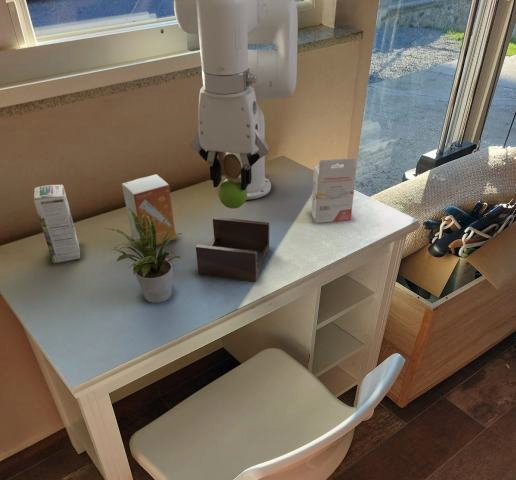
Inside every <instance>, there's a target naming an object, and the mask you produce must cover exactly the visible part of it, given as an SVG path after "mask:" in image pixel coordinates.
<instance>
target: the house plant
mask: <svg viewBox="0 0 516 480" xmlns="http://www.w3.org/2000/svg"><path fill="white" fill-rule="evenodd" d="M129 211H130V213H131V215H132V217H133V220H134V223H135V226H136V229H137V232H138V233H139V235H140V239H137V240H132V239H131V238H130V237H129V236H128V235H127V234H126V233H125V232H123V231H121V230H119V229H116V228H110V227H106V228H105V227H104V228H100V229H101V230H109V231H115V232H116V233H119V234H120V235H122V236H124V237H125V238H126V239H127V240H128V241H129V242H131V243H132V244H133V245H132V244H129V243H124V242H123V243H120V244H118V245H115V247H114V248H112V249H109V250H111V251H116V252H119V253H121V255H120V256H118V257H117V259H116V261H115V263H117V262H119V261H122V260H125V259H130V260H132V261H134V263H133V264H131V265H129V266H128V269H130V268H132V272H133V274H132V276H135V277H136V280H137V282H138V285H139V287H140V290H141V292H142V294H143V296H144V298H145V300H146V301H147V302H150V303H153V304H158V303H163V302H166V301H167V300H169V299H170V298H171V296H172V293H173V292H172V288H173V263H172V262H171V261H172V260H174V259H175V260H176V259H178V260H179V259H180V260H182V261H183V259H182V258H181V256H180V255H174V256H173V255H172V253H171V252H168V251H165V252H164V250H165V247H166V246H167V245H168V243H169V242H171V241H172V240H171V239H173V238H174V237H175V236H176V237H177V236H180V235H183V234H184V233H182V232H179V233H175V235H173V236H171V237H168V238H167V239H166V237H167V235H168V234H169V231H170V229H171V227H172V226H171V227H170V228H169V230H168V232H167V234H166V236H165V238H164V239H163V242H162V244H160V247H159V250H158V252H157V245H156V227H155V224H154V221H153V219H152V217H150V219H149V217H148V216H147V214H146V217H147V224H148V231H147V237H146V227H145V218H144V216H145V215H144V214H143V216H142V228H141V225H140V222H139V219H138V217H137V216H136V214H135V213H134V212H133V211H132V210H131V209H129ZM150 216H151V215H150ZM150 220H151V221H150ZM172 225H173V224H172ZM165 239H166V240H165ZM170 240H171V241H170ZM125 246H127V248H128V249H130V250H132V251H133V252H134V253H135V254H137V255H135V254H132V253H126V252H125V251H123V250H122V249H124V248H125ZM117 248H118V249H117ZM134 248H135V249H134ZM137 250H138V251H139V252H138V251H137ZM168 256H171V258H169V259H167V257H168Z"/></svg>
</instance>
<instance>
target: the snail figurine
mask: <svg viewBox="0 0 516 480" xmlns="http://www.w3.org/2000/svg"><path fill="white" fill-rule="evenodd" d="M217 158H218V160H219V163H220V167H221V174H223V176H224V177H225V178H226V179H228V180H226V179H225V180H226V181H225V180H224V181H223V182H222V183H220V186H219V188H218V199H219V201H220V203H221V205H222V206H224V207H226V208H228V209H238V208H241V207H242V206H243V205H244V204H245V203H246V201H247V200H246V199H247V189H246V190H242V189H241V180H242V179H241V178H239V175H240V174H241V163H240V161H239V159H238V158H237V157H236V156H235V155H234V154H227V155H226V154H225V152H218V157H217Z"/></svg>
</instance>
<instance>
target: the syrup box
mask: <svg viewBox="0 0 516 480" xmlns="http://www.w3.org/2000/svg"><path fill="white" fill-rule="evenodd" d="M33 189H34V191H33V192H34V193H33V203H34V207H35V209H36V212H37V217H38V219H39V223H40V225H41V229H42V232H43V235H44V236H43V237H44V238H45V241H46V245H47V247H48V251H49V255H50V257H51V262H52V263H53V264H57V263H65V262H69V261H75V260H79V259H81V250H80V242H79V238H78V234H77V230H76V227H75V223H74V220H73V215H72V213H71V209H70V204H69V201H68V198H67V194H66V190H65V187H64V184H49V185H42V186H37V187H34V188H33Z"/></svg>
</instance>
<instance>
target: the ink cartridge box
mask: <svg viewBox="0 0 516 480" xmlns="http://www.w3.org/2000/svg"><path fill="white" fill-rule="evenodd" d="M356 166H357V159H356V158H355V157H351V158H333V159H324V160H323V159H322V160H320V161H319V163H318V165H314V166H313V174H312V175H313V177H312V178H313V179H312V193H311V194H312V195H311V197H312V198H311V215H312V217H313V220H314V222H315V223H316V224H320V223H330V222H345V221H351V220H352V214H353V213H352V212H353V204H354V195H355V194H354V193H355V186H356V176H357V172H356V168H357V167H356Z"/></svg>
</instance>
